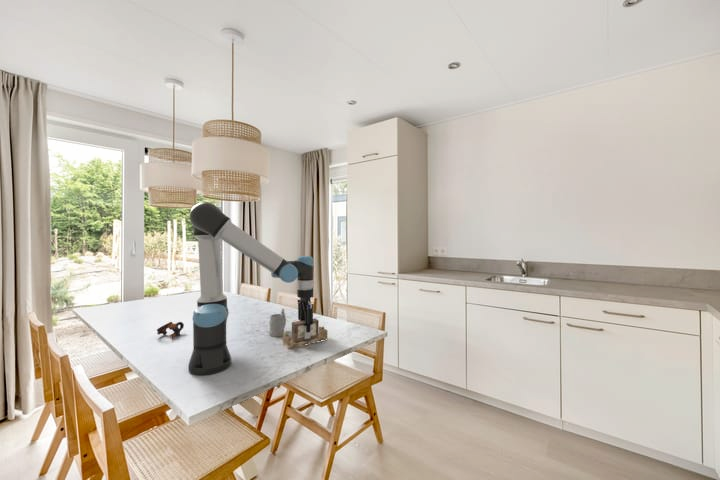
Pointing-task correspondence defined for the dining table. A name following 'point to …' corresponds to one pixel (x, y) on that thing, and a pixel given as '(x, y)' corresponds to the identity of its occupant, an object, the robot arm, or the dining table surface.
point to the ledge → (291, 343)
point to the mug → (277, 324)
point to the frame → (299, 330)
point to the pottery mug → (171, 327)
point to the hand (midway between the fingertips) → (305, 337)
